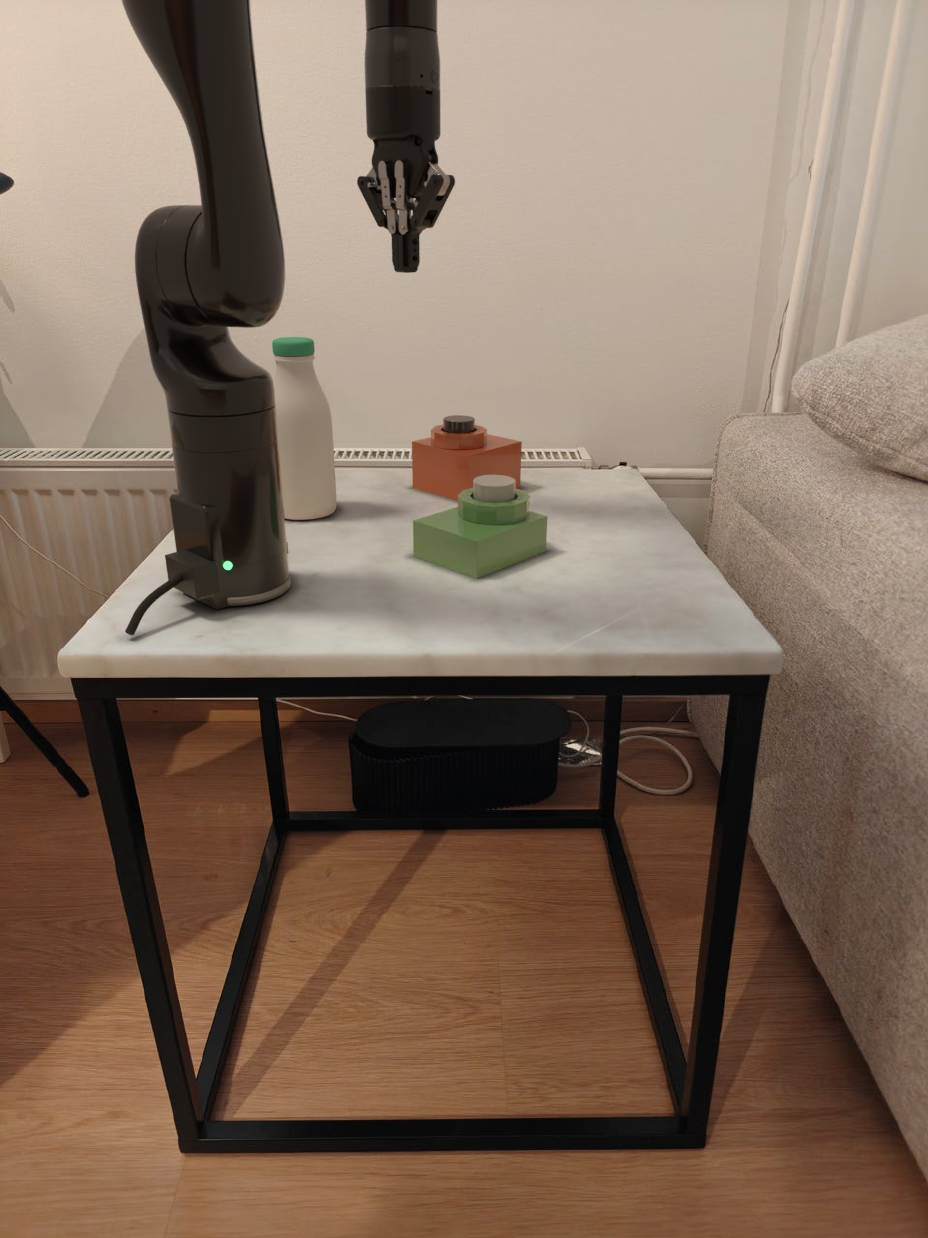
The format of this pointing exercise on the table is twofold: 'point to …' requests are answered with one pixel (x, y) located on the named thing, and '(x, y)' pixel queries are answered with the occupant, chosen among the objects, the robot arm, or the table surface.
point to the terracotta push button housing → (462, 460)
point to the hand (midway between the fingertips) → (406, 271)
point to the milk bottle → (303, 432)
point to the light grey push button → (494, 488)
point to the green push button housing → (481, 535)
